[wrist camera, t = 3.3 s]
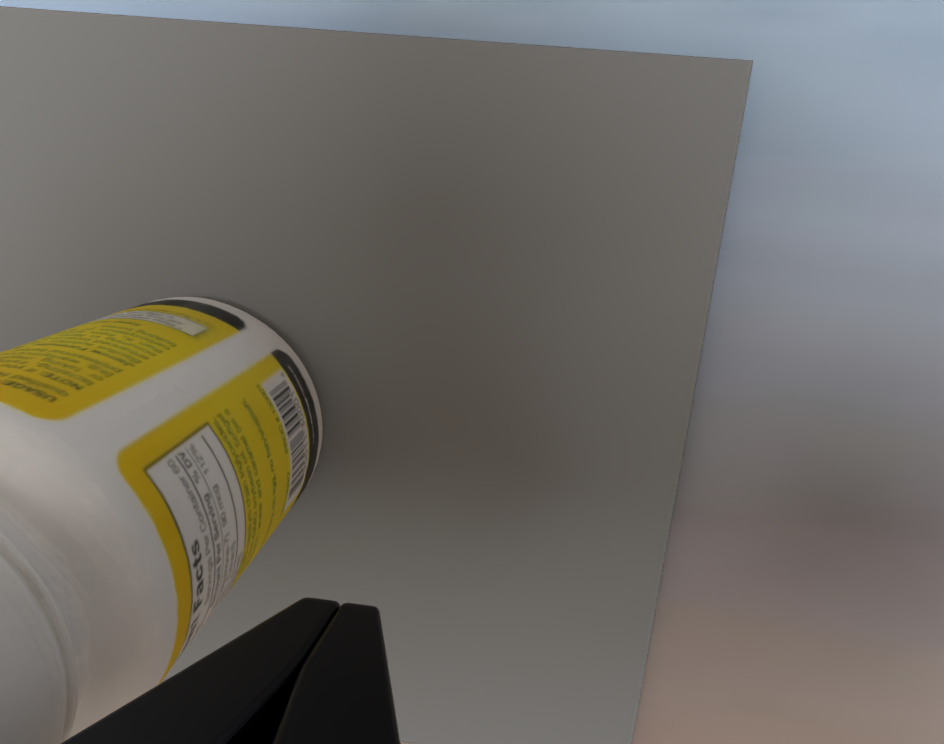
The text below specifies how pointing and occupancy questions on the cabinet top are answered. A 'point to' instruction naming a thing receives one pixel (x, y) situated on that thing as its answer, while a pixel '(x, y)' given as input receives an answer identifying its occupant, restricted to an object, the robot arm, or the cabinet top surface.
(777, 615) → the cabinet top surface
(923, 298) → the cabinet top surface
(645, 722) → the cabinet top surface
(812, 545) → the cabinet top surface
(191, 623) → the supplement bottle
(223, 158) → the flat gray panel
